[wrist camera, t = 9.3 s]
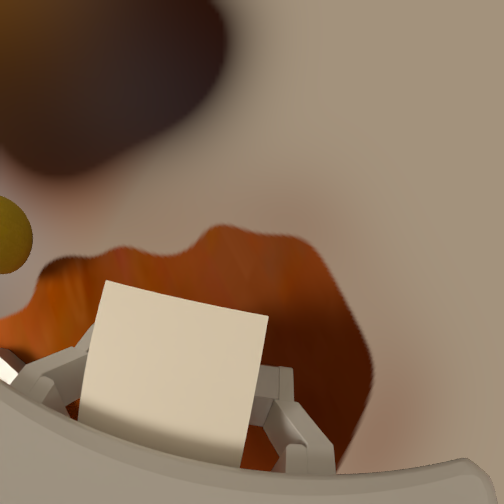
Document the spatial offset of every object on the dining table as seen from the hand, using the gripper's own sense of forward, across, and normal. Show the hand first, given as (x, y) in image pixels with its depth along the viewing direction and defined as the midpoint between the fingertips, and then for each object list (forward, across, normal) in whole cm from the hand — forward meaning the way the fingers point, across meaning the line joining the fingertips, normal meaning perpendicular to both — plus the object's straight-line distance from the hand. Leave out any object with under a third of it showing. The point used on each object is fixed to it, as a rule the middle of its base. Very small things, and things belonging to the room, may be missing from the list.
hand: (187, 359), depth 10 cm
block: (+3, 0, +4) cm, 4 cm away
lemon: (+9, +17, +3) cm, 20 cm away
